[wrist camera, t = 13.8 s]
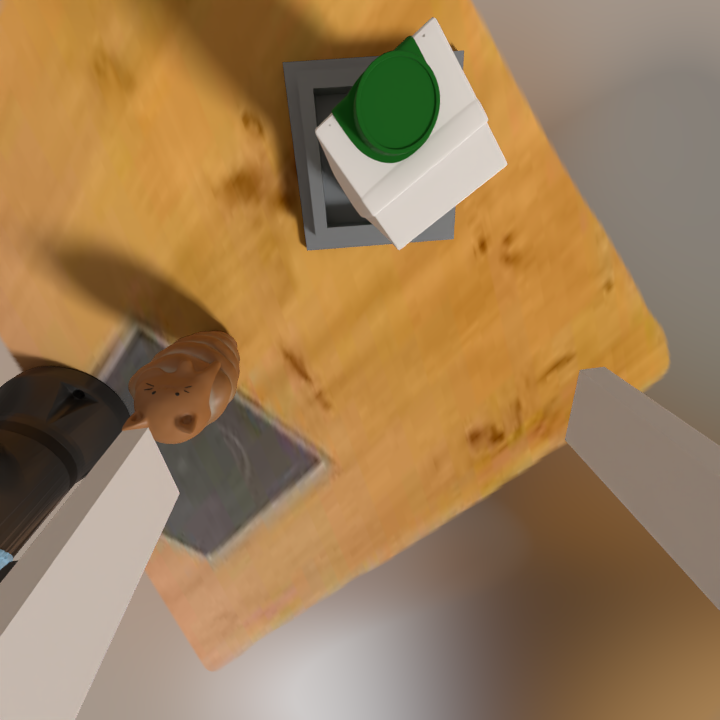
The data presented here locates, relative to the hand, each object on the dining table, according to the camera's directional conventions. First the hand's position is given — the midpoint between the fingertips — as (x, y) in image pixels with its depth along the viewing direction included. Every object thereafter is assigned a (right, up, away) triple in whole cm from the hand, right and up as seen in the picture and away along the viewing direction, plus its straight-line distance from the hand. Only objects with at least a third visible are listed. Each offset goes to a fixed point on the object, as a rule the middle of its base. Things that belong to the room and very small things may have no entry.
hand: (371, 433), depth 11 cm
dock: (+1, +22, +25) cm, 33 cm away
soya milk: (+1, +22, +24) cm, 33 cm away
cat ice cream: (-17, +5, +33) cm, 37 cm away
